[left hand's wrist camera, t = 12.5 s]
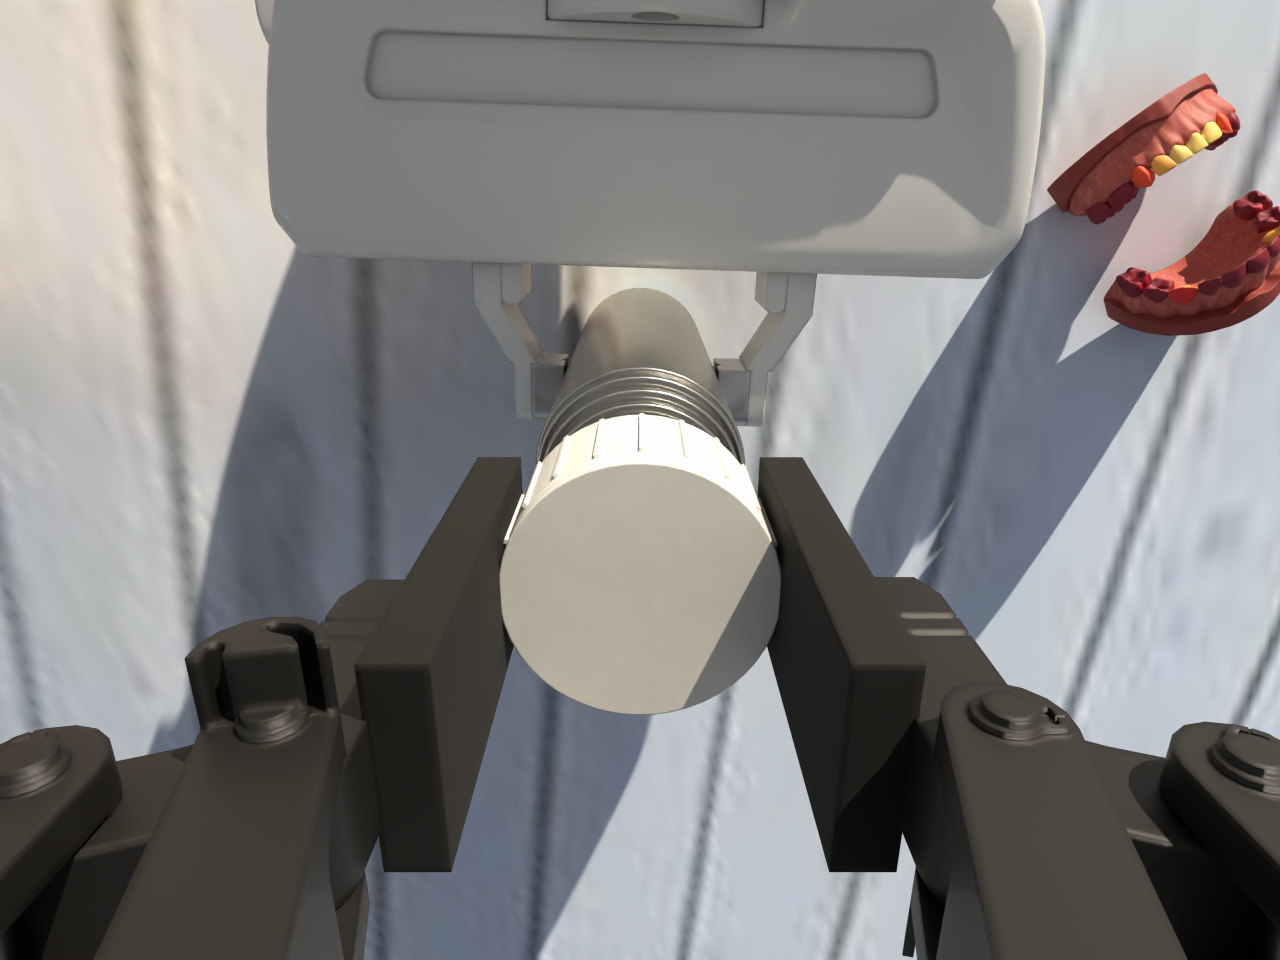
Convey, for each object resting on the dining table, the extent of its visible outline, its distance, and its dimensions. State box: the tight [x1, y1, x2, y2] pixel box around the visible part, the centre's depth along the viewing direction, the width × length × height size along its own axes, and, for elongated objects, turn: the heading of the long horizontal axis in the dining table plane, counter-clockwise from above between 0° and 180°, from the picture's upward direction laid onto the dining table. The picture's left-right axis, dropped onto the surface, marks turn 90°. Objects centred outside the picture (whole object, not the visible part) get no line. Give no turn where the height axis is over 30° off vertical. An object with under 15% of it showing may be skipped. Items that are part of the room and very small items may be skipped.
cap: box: [499, 413, 781, 715], centre depth 13 cm, size 4×4×3 cm
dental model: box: [1047, 73, 1280, 336], centre depth 27 cm, size 6×4×8 cm
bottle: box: [536, 288, 745, 465], centre depth 21 cm, size 5×5×19 cm
